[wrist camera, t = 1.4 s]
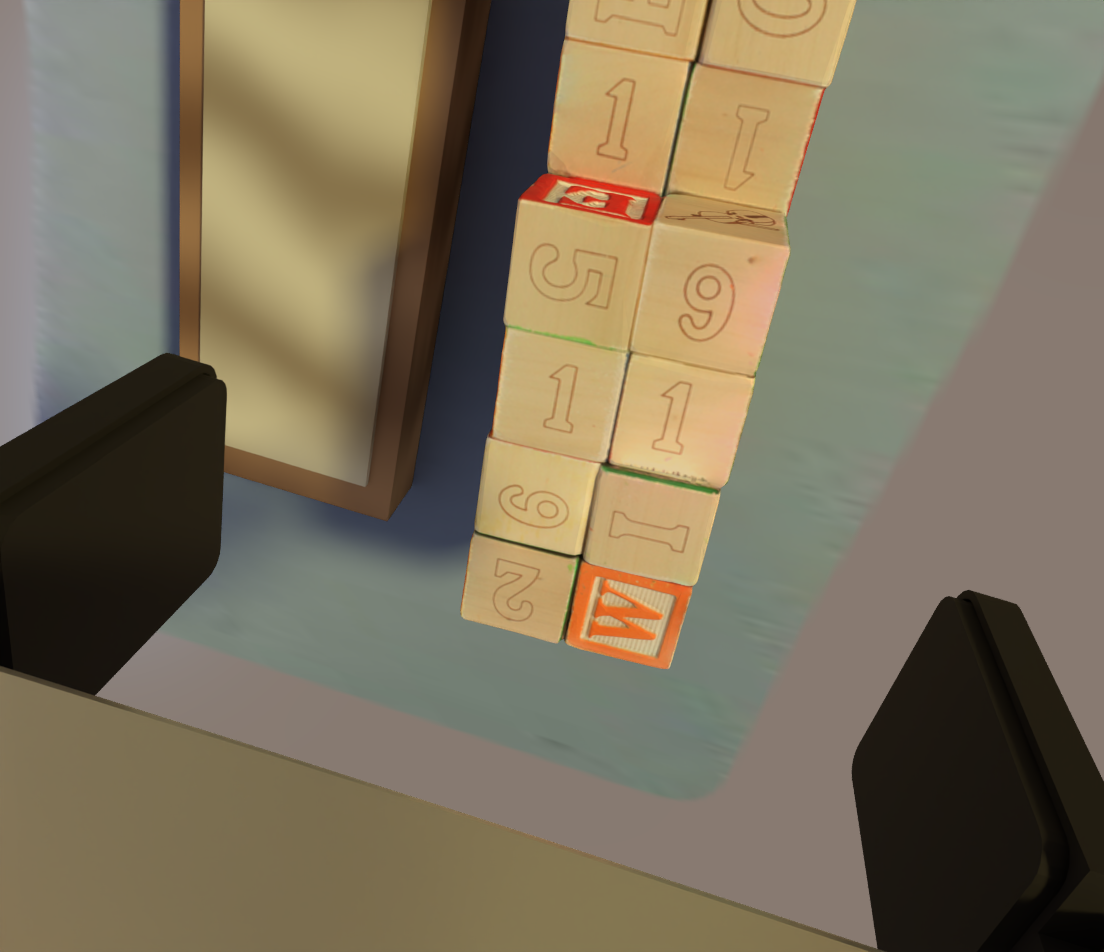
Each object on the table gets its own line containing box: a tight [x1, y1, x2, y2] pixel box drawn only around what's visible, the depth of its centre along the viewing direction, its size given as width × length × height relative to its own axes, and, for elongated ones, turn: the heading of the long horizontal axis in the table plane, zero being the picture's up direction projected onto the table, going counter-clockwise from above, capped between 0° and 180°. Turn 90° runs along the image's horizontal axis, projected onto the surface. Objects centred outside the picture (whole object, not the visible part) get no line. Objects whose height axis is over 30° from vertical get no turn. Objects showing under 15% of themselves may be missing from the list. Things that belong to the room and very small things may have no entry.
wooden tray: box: [180, 0, 491, 521], centre depth 30 cm, size 27×9×3 cm, turn 167°
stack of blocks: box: [460, 0, 856, 669], centre depth 25 cm, size 21×6×12 cm, turn 170°
